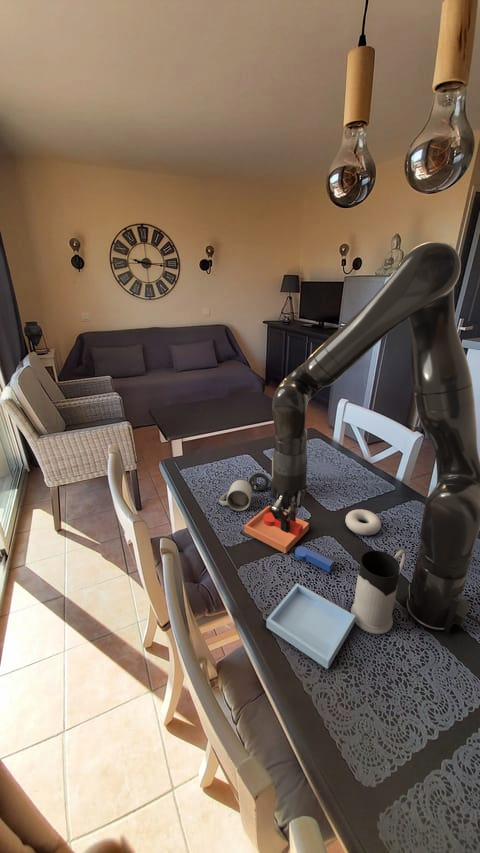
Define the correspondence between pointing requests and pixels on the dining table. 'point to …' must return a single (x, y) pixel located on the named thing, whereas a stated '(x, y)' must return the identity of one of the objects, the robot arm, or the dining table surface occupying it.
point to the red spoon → (271, 521)
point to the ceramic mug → (238, 496)
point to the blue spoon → (314, 558)
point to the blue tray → (311, 624)
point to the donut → (363, 528)
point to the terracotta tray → (273, 532)
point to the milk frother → (255, 484)
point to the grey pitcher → (376, 590)
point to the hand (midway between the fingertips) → (288, 527)
